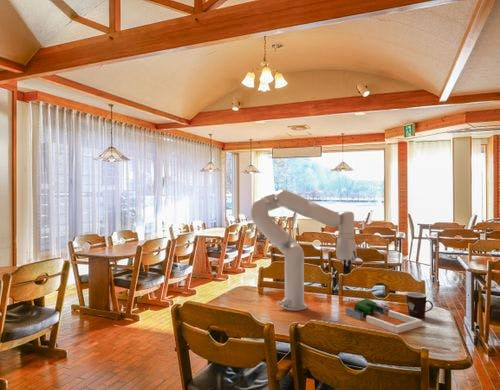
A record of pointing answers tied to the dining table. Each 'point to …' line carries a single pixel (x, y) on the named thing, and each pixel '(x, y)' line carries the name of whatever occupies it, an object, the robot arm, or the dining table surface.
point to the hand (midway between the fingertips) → (346, 273)
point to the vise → (359, 314)
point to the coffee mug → (417, 304)
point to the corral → (403, 327)
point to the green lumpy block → (365, 306)
